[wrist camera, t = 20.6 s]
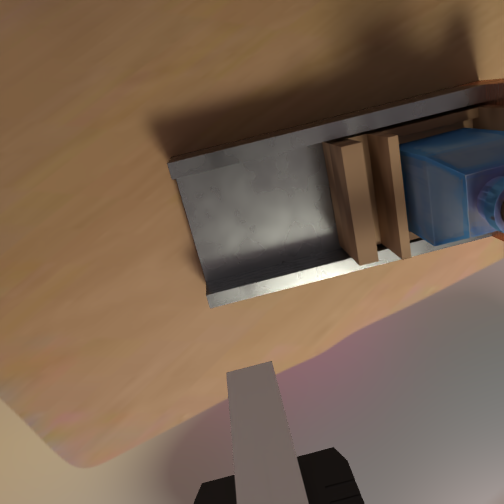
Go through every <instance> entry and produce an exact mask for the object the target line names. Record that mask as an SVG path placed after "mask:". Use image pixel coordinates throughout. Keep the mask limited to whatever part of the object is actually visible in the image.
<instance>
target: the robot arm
mask: <svg viewBox="0 0 504 504" xmlns="http://www.w3.org/2000/svg"><path fill="white" fill-rule="evenodd" d="M227 386H228V398H229V411H230V421H231V422H230V423H231V436H232V448H233V460H234V473H235V475H232V476H228V477H224V478H221V479H217V480H213V481H209V482H205V483H202V485H201V487H200V489H199V492H198V494H197V496H196V499H195V501H194V504H364V501H363V499H362V497H361V494H360V491H359V489H358V486H357V484H356V482H355V479H354V476H353V474H352V471H351V469H350V466H349V464H348V461H347V460H346V459H345V458H344V457H343V456H342V455H341V454H340V453H339V452H338V451H337V450H336V449H335V448H334V447H333V448H329V449H325V450H321V451H318V452H314V453H310V454H306V455H302V456H299V457H296V453H295V449H294V445H293V441H292V437H291V434H290V430H289V426H288V422H287V419H286V414H285V411H284V407H283V403H282V399H281V395H280V391H279V387H278V383H277V380H276V376H275V372H274V368H273V364H272V361H270V362H266V363H262V364H258V365H254V366H250V367H247V368H243V369H239V370H235V371H231V372H227Z"/></svg>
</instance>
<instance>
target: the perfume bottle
mask: <svg viewBox="0 0 504 504" xmlns="http://www.w3.org/2000/svg"><path fill="white" fill-rule="evenodd" d="M399 151H400V160H401V168H402V177H403V186H404V195H405V204H406V213H407V222H408V230H409V231H411V232H412V233H414V234H415V235H417V236H419V237H420V238H422V239H423V240H425V241H427V242H428V243H430V244H432V245H433V246H439V245H443V244H447V243H451V242H455V241H459V240H463V239H468V238H472V237H475V236H479V235H483V234H487V233H491V232H494V231H500V232H502V233H504V131H498V130H486V129H475V128H461V129H457V130H453V131H449V132H445V133H441V134H437V135H434V136H430V137H426V138H422V139H418V140H414V141H410V142H407V143H403V144H399Z"/></svg>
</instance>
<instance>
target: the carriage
mask: <svg viewBox="0 0 504 504" xmlns="http://www.w3.org/2000/svg"><path fill="white" fill-rule="evenodd" d="M461 128H475V129H486V130H498V131H504V105H469V106H465V107H461V108H457V109H453V110H449V111H445V112H441V113H437V114H433V115H429V116H425V117H421V118H417V119H413V120H409V121H405V122H401V123H397V124H393V125H389V126H385V127H381V128H377V129H373V130H369V131H365V132H361V133H357V134H353V135H349V136H345V137H341V138H337V139H333V140H329V141H325V142H322V146H323V151H324V157H325V163H326V169H327V175H328V181H329V186H330V192H331V198H332V204H333V210H334V215H335V221H336V227H337V233H338V239H339V245H340V246H341V247H342V248H343V249H344V250H345V251H346V252H347V253H348V254H349V255H350V257H351V258H352V259H353V260H354V261H355V262H356V263H357V264H358V265H359V266H362V265H366V264H370V263H374V262H378V261H379V259H378V252H377V245H378V244H383V245H384V246H385V247H387V248H388V249H389V250H391V251H392V252H393V253H394V254H396V255H397V256H398V257H399V258H401V259H402V260H404V259H408V258H412V257H411V248H410V240H413V239H417V238H420V237H419V236H417V235H415V234H414V233H412V232H411V231H409V230H408V222H407V213H406V204H405V195H404V186H403V177H402V168H401V160H400V151H399V144H403V143H407V142H410V141H414V140H418V139H422V138H426V137H430V136H434V135H437V134H441V133H445V132H449V131H453V130H457V129H461Z"/></svg>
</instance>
